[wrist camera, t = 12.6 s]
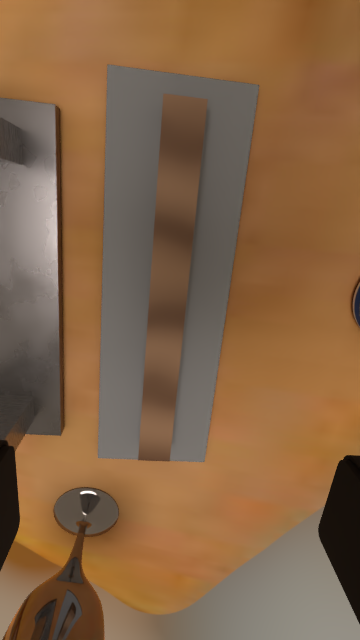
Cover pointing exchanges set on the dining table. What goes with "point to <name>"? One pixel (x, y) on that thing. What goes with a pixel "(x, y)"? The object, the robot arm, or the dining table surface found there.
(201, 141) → the walnut rail
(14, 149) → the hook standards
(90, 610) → the wine glass
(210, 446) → the dining table surface
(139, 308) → the grey mat
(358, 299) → the beverage bottle
